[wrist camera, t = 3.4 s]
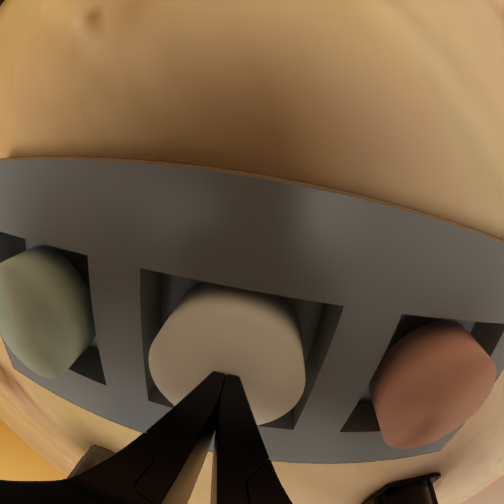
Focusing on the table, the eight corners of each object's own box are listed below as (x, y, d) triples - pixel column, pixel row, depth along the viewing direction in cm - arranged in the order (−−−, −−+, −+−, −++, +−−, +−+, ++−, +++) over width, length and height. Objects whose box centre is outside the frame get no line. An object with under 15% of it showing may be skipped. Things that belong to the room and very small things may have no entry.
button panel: (522, 247, 8) (550, 263, 6) (428, 425, 12) (439, 451, 10) (8, 157, 9) (-24, 162, 7) (33, 349, 13) (13, 368, 11)
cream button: (316, 292, 9) (326, 331, 7) (284, 392, 11) (284, 434, 9) (173, 266, 10) (145, 296, 7) (171, 370, 11) (153, 408, 9)
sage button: (91, 257, 9) (50, 284, 7) (104, 362, 10) (78, 396, 8) (14, 237, 9) (-23, 253, 7) (31, 329, 11) (4, 352, 8)
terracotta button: (486, 323, 8) (515, 353, 6) (435, 406, 10) (451, 440, 8) (399, 315, 9) (426, 356, 6) (351, 410, 10) (360, 453, 8)
